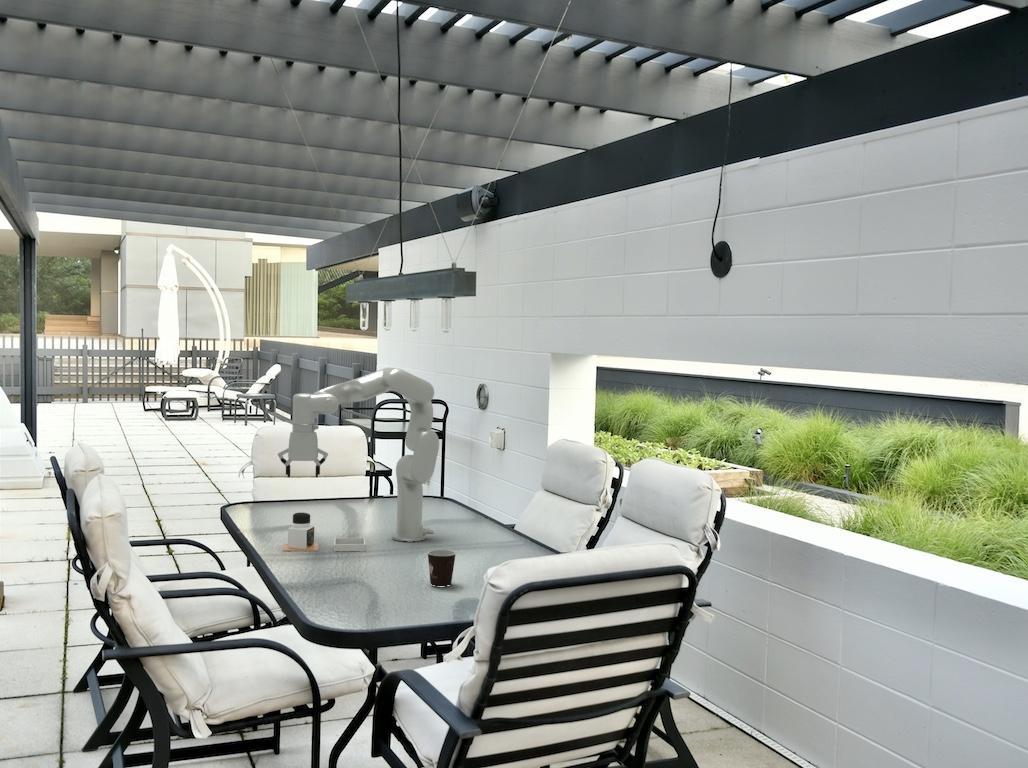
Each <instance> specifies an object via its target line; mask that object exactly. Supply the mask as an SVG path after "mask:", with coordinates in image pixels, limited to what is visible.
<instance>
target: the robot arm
mask: <svg viewBox="0 0 1028 768" xmlns="http://www.w3.org/2000/svg"><path fill="white" fill-rule="evenodd" d="M387 392H396V393H398V394H400V395H402V396H403V398H404V399H405V400H406V401H407V403H408V405H409V408H410V417H409V422H408V426H407V430H406V434H405V441H404V445H405V447H406V448H407V449H408V450H410V451H411V452H413V454H405V455H403V456H401V457H400V458H399V459H398V461H397V462H396V467H395V473H396V484H397V485H396V486H397V492H396V493H397V495H396V496H397V498H396V531H395V533H393V534H392V535H391V538H392V540H394V541H398V542H403V541H407V543H410V542H411V543H413V541H415V542H422V541H424V540H426V537H427V536H426V535H434V534H435V529H434V528H431V527H430V528H425V527H423V502H424V501H423V499H424V498H423V497H424V488H423V484H426V483H427V482H429V481H430V480H431V478H432V477H433V474H434V472H435V468H436V463H437V460H438V455H439V450H440V440H439V436H438V434H437V433H436V432H435V431H434V430H432V426H433V419H434V407H433V403H432V400H433V398H434V397H435V388H434V386H433V385H432V384H431V383H430V382H429V381H427V380H425V379H423V378H421V377H418V376H417V375H415V374H413V373H410V372H409V371H405V370H404V369H401V368H397V367H384V368H381V369H379V370H376V371H373V372H371V373H368V374H366V375H361V376H360V377H358V378H354V379H350V380H348V381H344V382H341V383H337V384H334V385H330V386H328V387H325V388H323V389H319V390H317V391H315V392H313V394H312V393H296V394H294V395H293V397H292V431H291V432H289V433H290V434H289V439H288V447H287V448H285V449H284V450H282V451H279V452H278V453H277V456H278V458H279V460H280V462H281V463H282V464H283V465H284V466H285V475H287V478H291V463H292V462H314V463H315V478H318V477H319V475H320V474H321V466H322V464H324V462H326V460H327V458H328V456H329V453H328V452H326V451H325V450H323V449H321V448H319V444H318V443H319V441H318V440H319V439H318V435H317V432H316V430H319V425H317V424H315V414H320V415H332V414H334V413H335V412H336V411H337V410H338V408H339V405H343V404H347V403H356V402H357V403H360V402H364V401H367V400H370V399H373V398H375V397H377V396H381V395H382V394H385V393H387ZM286 454H287V455H288V456H287V457H288V460H287V459H285V457H284V455H286ZM319 454H321V455H322V458H321V459H320V460H319V459H318V457H319ZM421 540H422V541H421Z"/></svg>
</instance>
